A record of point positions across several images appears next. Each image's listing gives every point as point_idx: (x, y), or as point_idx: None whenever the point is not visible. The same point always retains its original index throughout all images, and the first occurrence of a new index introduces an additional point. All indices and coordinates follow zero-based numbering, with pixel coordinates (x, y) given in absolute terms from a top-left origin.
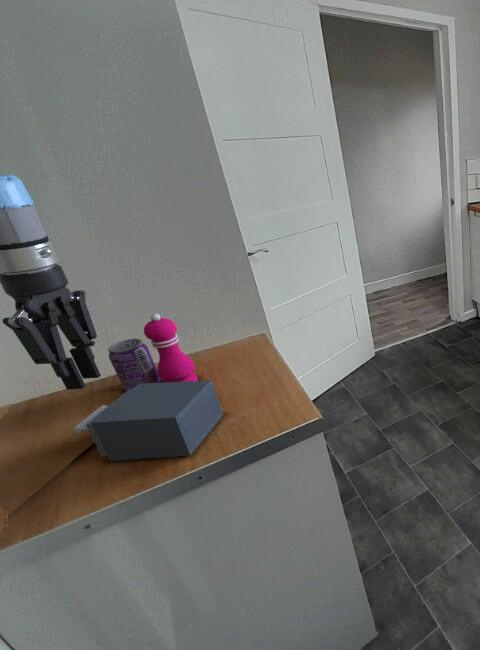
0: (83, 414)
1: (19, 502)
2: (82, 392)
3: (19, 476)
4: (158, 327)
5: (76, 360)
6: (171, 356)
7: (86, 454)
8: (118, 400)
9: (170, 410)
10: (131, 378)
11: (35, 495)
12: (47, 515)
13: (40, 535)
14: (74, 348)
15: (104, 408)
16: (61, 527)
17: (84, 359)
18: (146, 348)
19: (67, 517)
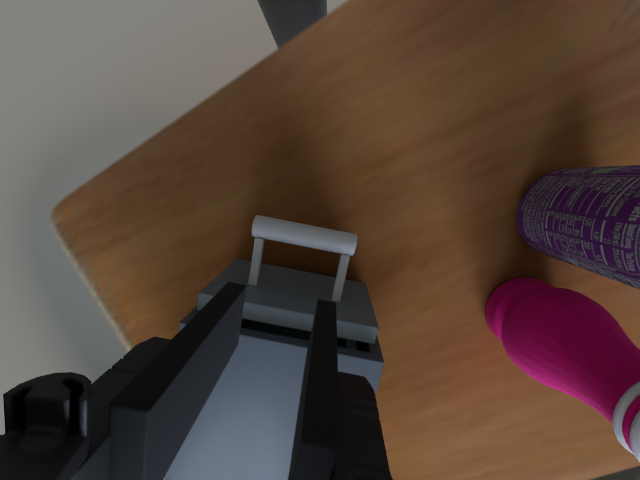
0: (455, 112)
1: (145, 160)
2: (600, 37)
3: (226, 107)
4: None
5: (307, 376)
6: (576, 389)
7: (269, 210)
8: (288, 345)
9: None
10: (549, 224)
11: (160, 179)
12: (105, 232)
13: (62, 247)
14: (327, 466)
15: (341, 253)
16: (75, 270)
17: (297, 426)
18: None
19: (95, 268)
